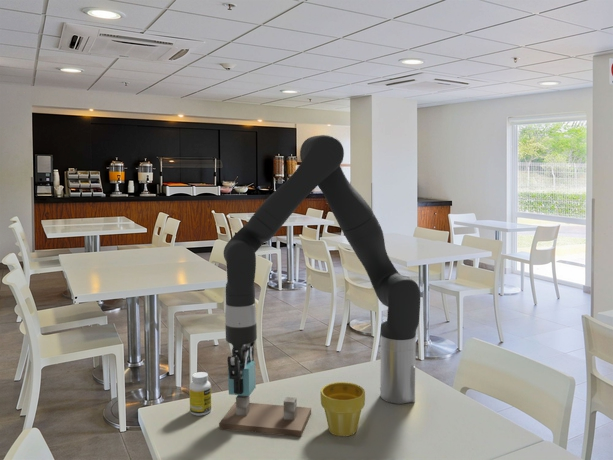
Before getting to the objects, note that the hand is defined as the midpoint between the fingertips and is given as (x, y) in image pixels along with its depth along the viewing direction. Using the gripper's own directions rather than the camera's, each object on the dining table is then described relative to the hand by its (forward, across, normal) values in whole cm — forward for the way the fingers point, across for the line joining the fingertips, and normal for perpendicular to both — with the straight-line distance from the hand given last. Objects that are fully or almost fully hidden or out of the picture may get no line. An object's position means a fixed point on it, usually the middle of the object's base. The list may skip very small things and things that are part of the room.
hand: (242, 388), depth 133 cm
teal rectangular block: (+1, 0, 0) cm, 1 cm away
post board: (+8, 0, -6) cm, 10 cm away
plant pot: (+8, -1, -25) cm, 26 cm away
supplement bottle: (+8, +2, +12) cm, 15 cm away
